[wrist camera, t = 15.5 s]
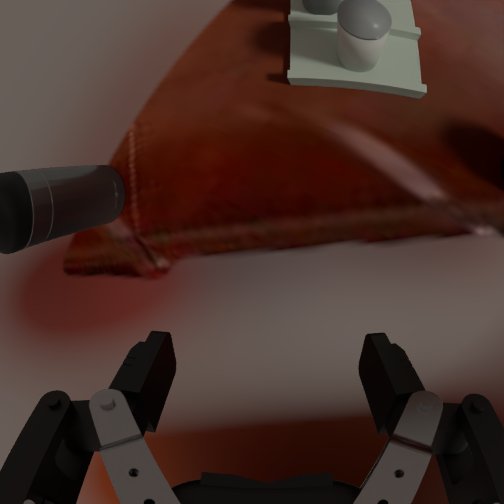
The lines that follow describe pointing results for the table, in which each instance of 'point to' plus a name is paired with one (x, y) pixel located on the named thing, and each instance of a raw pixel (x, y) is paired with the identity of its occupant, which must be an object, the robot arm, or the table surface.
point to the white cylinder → (361, 33)
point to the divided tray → (336, 75)
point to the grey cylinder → (321, 6)
